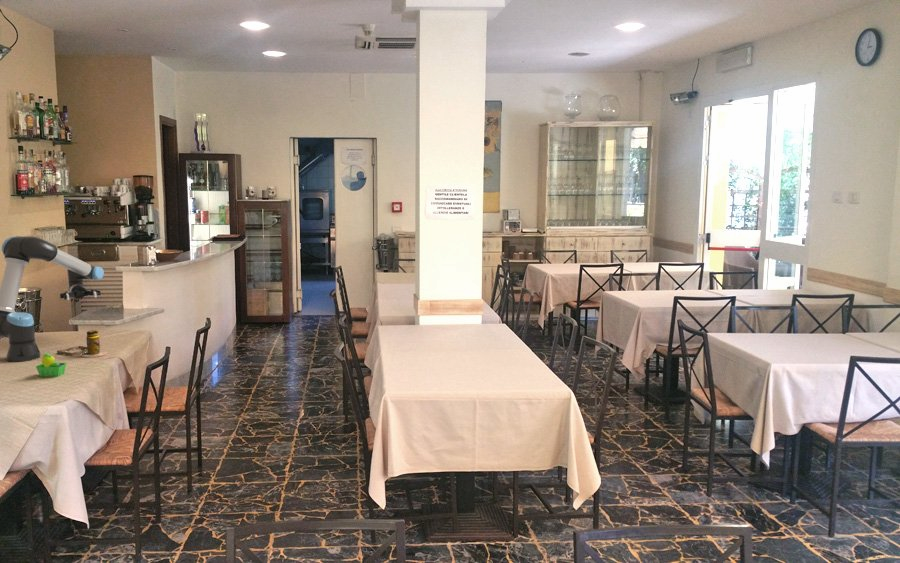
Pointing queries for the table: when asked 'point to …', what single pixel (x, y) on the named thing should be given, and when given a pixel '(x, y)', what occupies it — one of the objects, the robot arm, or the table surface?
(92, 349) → the condiment
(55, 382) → the table surface
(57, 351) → the dark brown openwork trivet
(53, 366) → the fruit basket
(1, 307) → the robot arm
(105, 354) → the serving plate
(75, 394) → the table surface
